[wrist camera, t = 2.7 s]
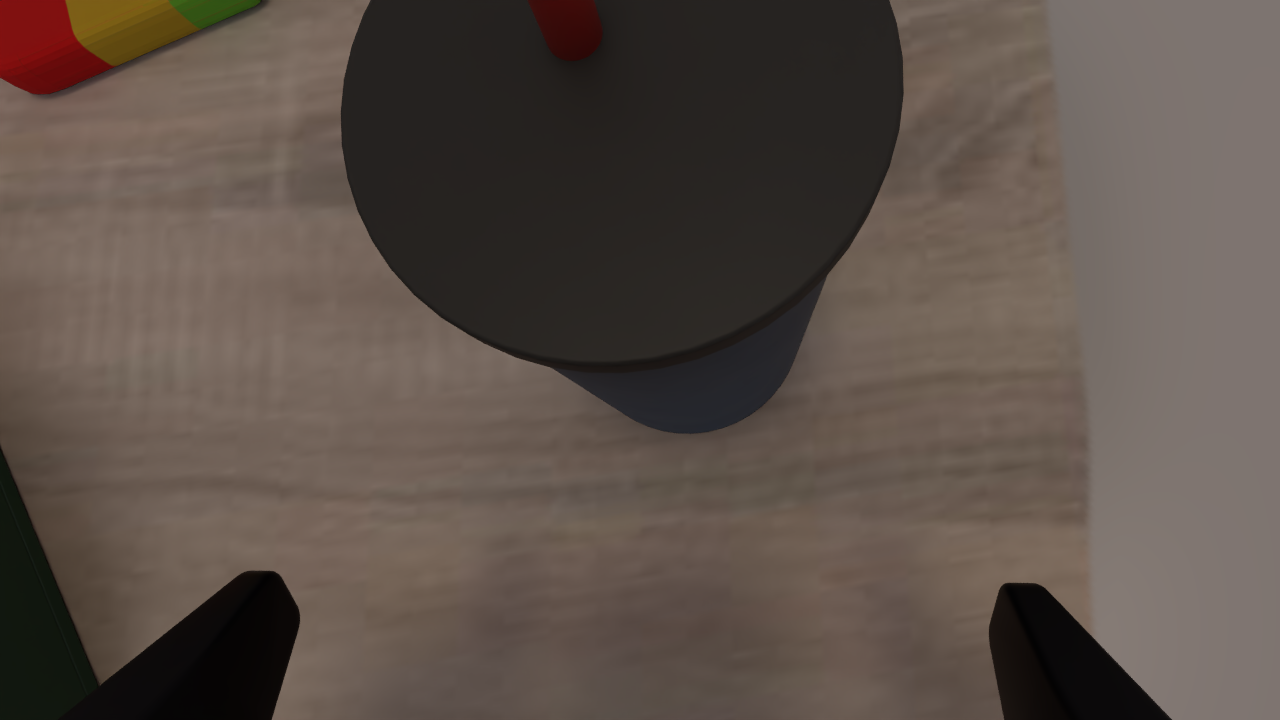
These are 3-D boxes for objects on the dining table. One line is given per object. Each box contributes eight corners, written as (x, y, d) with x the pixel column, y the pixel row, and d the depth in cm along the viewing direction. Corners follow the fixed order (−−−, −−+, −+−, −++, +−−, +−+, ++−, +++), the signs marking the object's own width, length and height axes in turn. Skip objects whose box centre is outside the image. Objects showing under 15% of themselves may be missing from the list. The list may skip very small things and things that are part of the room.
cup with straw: (855, 356, 21) (1412, -300, 4) (650, 487, 22) (212, 476, 4) (722, 167, 23) (649, -971, 5) (530, 292, 23) (-199, -389, 5)
